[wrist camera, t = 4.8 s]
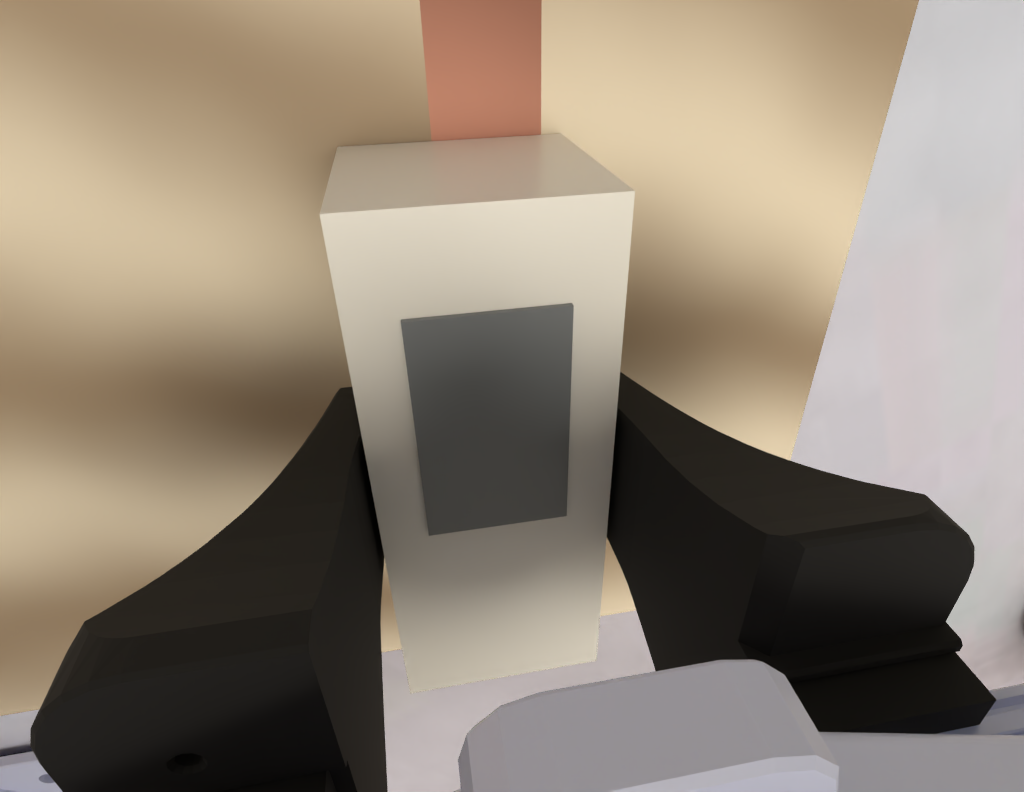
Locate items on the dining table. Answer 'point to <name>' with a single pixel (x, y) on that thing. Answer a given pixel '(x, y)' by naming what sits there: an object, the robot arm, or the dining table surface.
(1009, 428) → the dining table surface
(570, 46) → the board
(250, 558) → the robot arm
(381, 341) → the block
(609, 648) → the dining table surface
